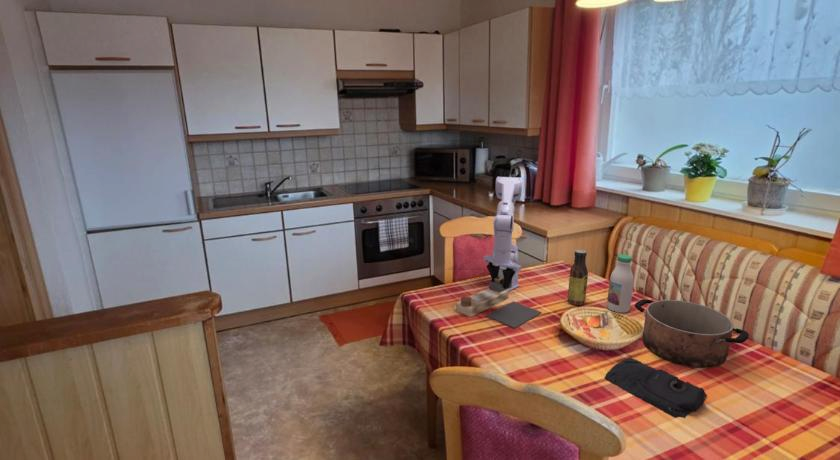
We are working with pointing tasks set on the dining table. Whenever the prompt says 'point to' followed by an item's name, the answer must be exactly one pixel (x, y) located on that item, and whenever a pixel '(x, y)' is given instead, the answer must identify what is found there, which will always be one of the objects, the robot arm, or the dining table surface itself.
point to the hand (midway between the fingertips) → (500, 285)
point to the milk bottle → (621, 285)
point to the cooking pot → (688, 332)
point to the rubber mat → (513, 314)
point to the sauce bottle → (578, 279)
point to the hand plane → (480, 301)
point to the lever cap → (498, 284)
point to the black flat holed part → (657, 387)
